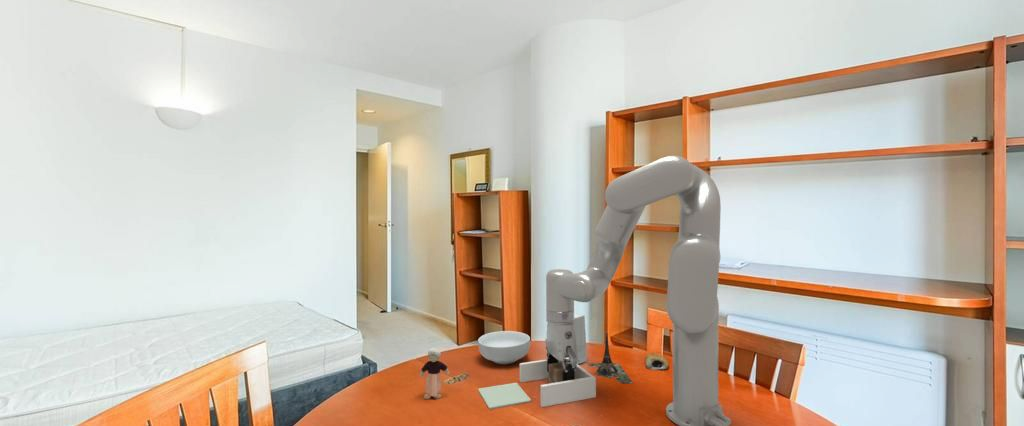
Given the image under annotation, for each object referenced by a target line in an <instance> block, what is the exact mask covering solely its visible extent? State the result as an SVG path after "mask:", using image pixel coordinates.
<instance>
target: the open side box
mask: <svg viewBox="0 0 1024 426" xmlns="http://www.w3.org/2000/svg"><path fill="white" fill-rule="evenodd" d="M564 359H569V358H564ZM559 362H560V361H559V360H558V363H559ZM566 363H567V364H570V362H566ZM576 365H577V366H576V368H575V369H576V370H575V379H574V380H568V381H562V382H556V383H550V384H549V383H545V384H540V406H541V407H542V408H545V407H550V406H557V405H561V404H566V403H572V402H576V401H582V400H588V399H594V398H596V397H597V389H596V387H597V383H596V382H597V379H596V376H594V375H592V374H591V373H590V372H589V371H587V370H586V369H585V368H583V367H582V366H581V365H579V364H576ZM543 379H544V380H545V379H549V373H548V372H547V359H540V360H533V361H526V362H520V363H519V382H520V383H526V382H531V381H538V380H543Z"/></svg>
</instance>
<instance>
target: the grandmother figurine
mask: <svg viewBox="0 0 1024 426" xmlns="http://www.w3.org/2000/svg"><path fill="white" fill-rule="evenodd" d="M441 355H442V354H441V351H440V350H439V349H438V348H437V347H431V348H430V349H428V351H427V356H428V361H427V362H426V363H424V365H423V367H422V368H421V369H420V373H419V374H418V375H419V377H420V378H423V376H424V374H425V372H426V378H425V379H426V380H425V381H426V382H425V394H424V395H423V399H424V400H428V399H429V400H430V399H431V398H432V397H433V399H441V398H442V394H441V393H442V391H441V390H442V377H441V376H442V375H441V371H442V372H444V373H445V375H446V376H449V375H450V371H449V369H448V366H447V365H446V364H445V363H443V362H442V361H439V358H440V357H441Z"/></svg>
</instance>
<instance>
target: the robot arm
mask: <svg viewBox="0 0 1024 426" xmlns="http://www.w3.org/2000/svg"><path fill="white" fill-rule="evenodd" d="M673 196H676V197H677V198H678V201H679V205H680V206H679V207H680V208H679V216H678V219H679V225H678V239H677V241H676V243H675V244H674V245H673V247H672V249H671V251H670V255H669V259H668V261H669V262H668V273H667V274H668V276H667V277H668V278H667V288H666V289H667V290H666V291H667V293H666V312H667V315H668V318H669V320H670V322H672V396H673V397H672V402H669V403H668V404H667V405H666V408H665V411H666V416H667V417H668V419H669V420H670V421H672V423H675V424H676V425H678V426H730V425H731V423H732V419H731V418H729V417H728V416H726V415H725V413H723V405H721V404H719V313H720V312H719V311H720V309H719V306H720V303H719V298H718V289H719V288H718V285H719V272H720V271H719V270H720V262H721V249H720V237H721V209H722V208H721V205H722V204H721V196H720V192H719V188H718V186H717V184H716V183H715V181H714V180H713V177H711V176H710V174H709V173H707V172H706V171H704V170H703V169H701V168H700V167H698V166H697V165H695V164H693V163H692V162H690V161H689V160H688V159H686V158H685V157H682V156H678V155H668V156H664V157H660V158H659V159H656V160H654V161H652V162H650V163H647V164H646V165H643V166H640V167H638V168H637V169H634V170H632V171H630V172H627V173H625V174H623V175H620V176H618V177H617V178H616V177H615V178H614V179H613V180H612V181H611V182H610V183H608V185H607V187H606V190H605V192H604V200H605V202H606V207H605V210H604V211H603V212H602V215H601V218H600V219H599V222H598V223H597V225H596V227H595V230H594V238H595V241H596V242H595V243H596V245H595V249H594V252H593V255H592V258H591V259H590V262H589V264H588V265H587V268H586V269H585V270H583V271H581V272H577V273H573V272H572V271H571V270H570V269H569V270H568V269H562V268H561V269H560V268H559V269H558V268H557V269H555V268H554V269H550V270H549V271H547V273H546V276H545V282H546V284H545V288H546V289H545V294H546V295H545V296H546V298H545V300H546V301H545V307H546V309H545V313H546V316H545V319H546V323H547V324H546V338H545V340H544V341H545V345H546V347H545V350H546V358H547V359H546V360H547V372H548V373H549V364H552V363H558V360H559V361H560V362H562V365H563V368H564V371H563V381H568V380H574V379H575V370H576V369H575V368H576V366H577V365H576V364H577V361H578V359H577V341H576V331H575V325H574V313H575V302H579V303H589V302H592V301H593V300H595V299H596V298H598V297H600V296H601V295H603V294H604V293H605V292H606V291H607V289H608V288H609V286H610V284H611V282H612V281H613V278H614V276H615V275H616V273H617V270H618V268H619V266H620V263H621V260H622V258H623V256H624V253H625V251H626V246H627V245H628V243H629V240H630V238H631V236H632V235H633V232H634V230H635V229H636V226H637V225H638V222H639V220H640V218H641V216H642V215H643V213H644V211H645V208H646V207H647V206H648V205H651V204H654V203H656V202H660V201H661V200H663V199H667V198H670V197H673ZM568 357H569V359H564V358H568ZM566 362H570V364H569V365H568V366H567V365H566Z"/></svg>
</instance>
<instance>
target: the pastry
mask: <svg viewBox="0 0 1024 426" xmlns="http://www.w3.org/2000/svg"><path fill="white" fill-rule="evenodd" d="M644 362H645V367H646V369H648V370H653V371H663V370H667V369H668V367H669V361H668V360H667V358H666V357H665V356H664V355H662V354H660V353H655V352H650V353H647V354H646V355H645V357H644Z"/></svg>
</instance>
